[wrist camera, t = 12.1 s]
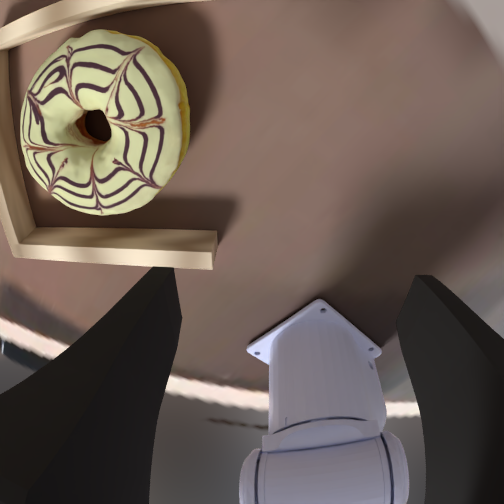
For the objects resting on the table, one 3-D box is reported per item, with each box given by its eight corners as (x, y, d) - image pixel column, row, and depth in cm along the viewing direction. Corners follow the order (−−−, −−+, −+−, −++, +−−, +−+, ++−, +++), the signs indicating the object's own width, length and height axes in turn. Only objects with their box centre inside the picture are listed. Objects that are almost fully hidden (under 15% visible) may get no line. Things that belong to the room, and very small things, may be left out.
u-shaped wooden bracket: (216, -19, 12) (208, -32, 9) (217, 246, 21) (212, 269, 18) (-3, 40, 12) (-26, 43, 10) (30, 240, 21) (14, 257, 19)
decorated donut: (35, 61, 14) (-3, 67, 10) (190, 17, 13) (170, 5, 10) (61, 202, 19) (32, 228, 16) (204, 190, 19) (191, 219, 15)
